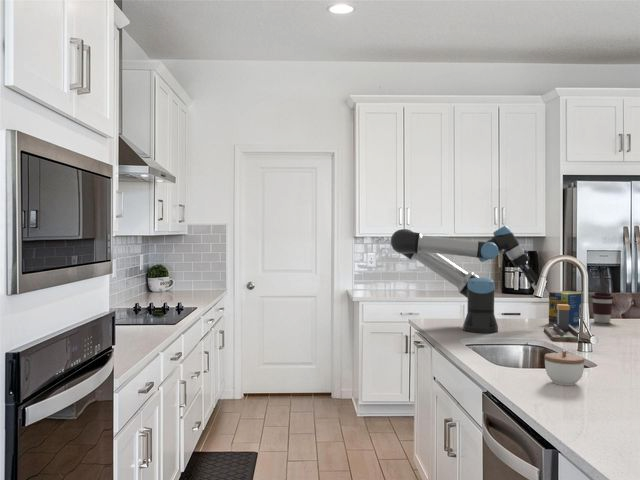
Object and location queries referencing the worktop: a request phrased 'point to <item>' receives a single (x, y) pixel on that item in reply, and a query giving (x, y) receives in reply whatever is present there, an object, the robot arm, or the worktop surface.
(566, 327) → the switch handle
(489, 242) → the robot arm
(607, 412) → the worktop surface
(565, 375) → the lidded jar
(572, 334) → the switch panel
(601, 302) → the coffee cup
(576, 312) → the protein box
